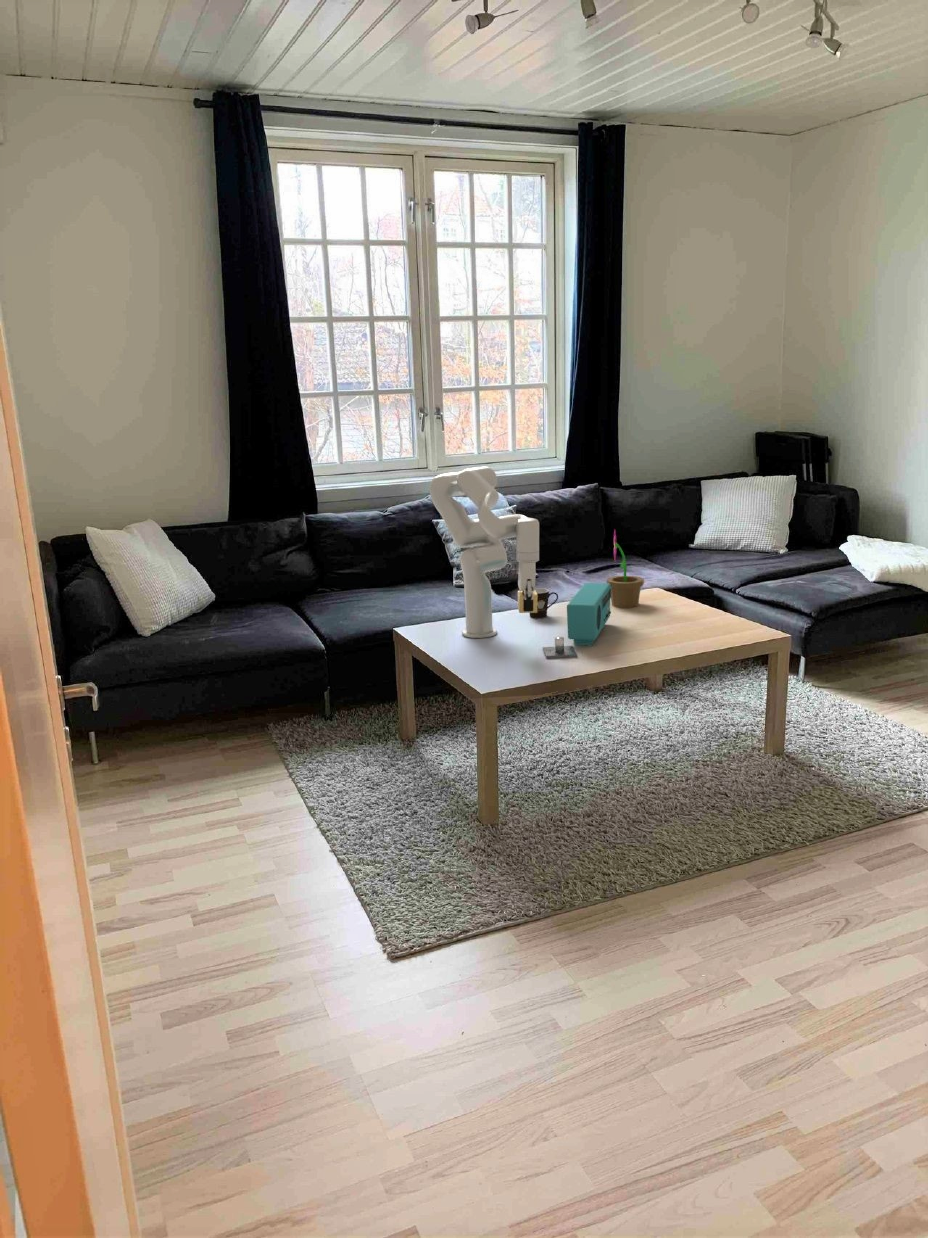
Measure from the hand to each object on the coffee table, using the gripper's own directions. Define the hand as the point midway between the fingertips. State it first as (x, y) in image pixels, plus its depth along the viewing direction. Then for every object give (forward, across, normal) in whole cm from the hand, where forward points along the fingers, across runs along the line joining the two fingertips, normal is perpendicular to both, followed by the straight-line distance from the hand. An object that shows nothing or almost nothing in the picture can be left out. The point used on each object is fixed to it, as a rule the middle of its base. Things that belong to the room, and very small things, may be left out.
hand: (527, 607), depth 319 cm
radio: (+14, -13, +24) cm, 31 cm away
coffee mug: (+16, -41, +10) cm, 45 cm away
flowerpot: (+15, -52, +44) cm, 70 cm away
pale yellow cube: (+1, 0, 0) cm, 1 cm away
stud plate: (+14, +8, +10) cm, 19 cm away
